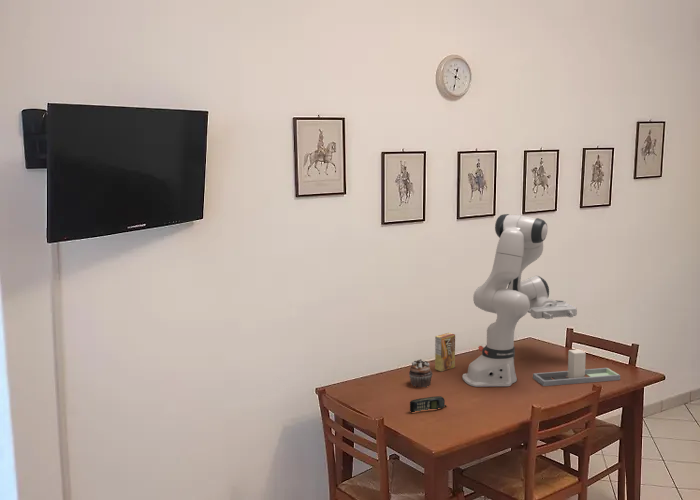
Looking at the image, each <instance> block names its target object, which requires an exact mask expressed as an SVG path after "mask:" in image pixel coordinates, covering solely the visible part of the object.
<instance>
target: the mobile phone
mask: <svg viewBox="0 0 700 500" xmlns="http://www.w3.org/2000/svg"><path fill="white" fill-rule="evenodd" d="M445 403H446V401H445V398H444V397H443V396H442V395H441V396H440V395H439V396H430V397H429V396H428V397H424V398H423V397H422V398H415V399H411V400H410V402H409V412H410V411H411V412H415V411H421V410H428V409H438V408H441V409H444V408H445V407H444V406H446V405H447V404H445ZM446 407H447V406H446ZM411 412H410V413H411Z"/></svg>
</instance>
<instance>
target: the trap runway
mask: <svg viewBox="0 0 700 500" xmlns="http://www.w3.org/2000/svg"><path fill="white" fill-rule="evenodd" d="M532 379H533V380H535V382H537V383H539V384H540V385H541V386H543V387H548V386H549V387H551V386H561V385H562V386H563V385H565V386H566V385H574V384H576V385H577V384H588V383H596V382H597V383H599V382H611V381H612V382H613V381H621V375H620V374H619V373H617V372H616V371H614V370H612V369H610V368H609V367H599V368H585V377H582V378H570V379H569V378H568V370H561V371H551V372H550V371H549V372H537V373H536V372H535V373H532Z"/></svg>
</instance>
